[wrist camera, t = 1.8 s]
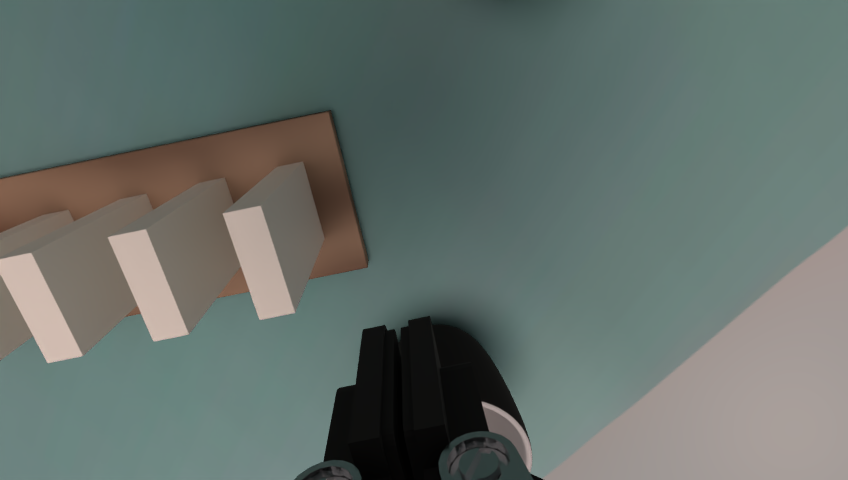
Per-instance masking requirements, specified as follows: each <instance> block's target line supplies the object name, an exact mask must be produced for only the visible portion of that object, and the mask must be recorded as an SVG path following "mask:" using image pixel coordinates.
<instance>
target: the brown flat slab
mask: <svg viewBox="0 0 848 480" xmlns="http://www.w3.org/2000/svg"><path fill="white" fill-rule="evenodd" d="M298 162H303V163H304V167H305V170H306V174H307V177H308V181H309V185H310V188H311V192H312V195H313V199H314V202H315V206H316V210H317V213H318V217H319V220H320V224H321V227H322V231H323V235H324V238H325V239H324V241H323V244H322V246H321V249H320V251H319V254H318V256H317V259H316V262H315V264H314V267H313V269H312V272H311V274H310V277H309V279H313V278H318V277H323V276H328V275H333V274H338V273H342V272H347V271H352V270H357V269H362V268H367V267H368V261H369V260H368V256H367V252H366V248H365V244H364V240H363V237H362V233H361V229H360V225H359V221H358V217H357V213H356V209H355V205H354V201H353V197H352V193H351V189H350V185H349V181H348V177H347V173H346V169H345V165H344V161H343V157H342V153H341V149H340V145H339V141H338V137H337V133H336V129H335V125H334V121H333V117H332V113H331V110H329V111H324V112H319V113H315V114H310V115H305V116H300V117H295V118H290V119H286V120H281V121H276V122H271V123H266V124H261V125H256V126H252V127H247V128H242V129H237V130H232V131H227V132H223V133H218V134H213V135H208V136H203V137H198V138H193V139H189V140H184V141H179V142H174V143H169V144H164V145H159V146H155V147H150V148H145V149H140V150H135V151H130V152H126V153H121V154H116V155H111V156H106V157H101V158H96V159H92V160H87V161H82V162H77V163H72V164H67V165H62V166H58V167H53V168H48V169H43V170H38V171H33V172H29V173H24V174H19V175H14V176H9V177H4V178H0V233H1V232H3V231H6V230H8V229H11V228H13V227H15V226H18V225H20V224H22V223H25V222H27V221H30V220H32V219H34V218H37V217H39V216H41V215H45V214H50V213H55V212H60V211H64V210H69V212H70V214H71V216H72V218H73V220H74V221H76V220H78V219H80V218H82V217H84V216H86V215H88V214H90V213H92V212H95V211H97V210H99V209H101V208H103V207H105V206H107V205H109V204H111V203H113V202H115V201H117V200H119V199H123V198H128V197H133V196H137V195H142V194H147V196H148V199H149V201H150V204H151V206H152V209H153V210H154V209H156V208H157V207H159V206H161V205H162V204H164V203H166V202H167V201H169V200H171V199H172V198H174V197H176V196H177V195H179V194H181V193H182V192H184V191H186V190H188V189H189V188H191V187H193V186H194V185H196V184H198V183H201V182H206V181H210V180H215V179H220V178H225V180H226V183H227V186H228V189H229V192H230V195H231V198H232V201H233V204H234V203H235V202H236V201H238V200H239V199H240V198H241V197H242V196H243V195H245V194H246V193H247V192H248V191H249V190H250V189H252V188H253V187H254V186H255V185H256V184H257V183H259V182H260V181H261V180H262V179H263V178H264V177H266V176H267V175H268V174H269V173H270V172H271V171H273V170H274V169H275V168H276V167H278V166H283V165H288V164H293V163H298ZM244 292H249V288H248V285H247V282H246V279H245V277H244V274H243V271H242V268H241V267H240V268H239V269H238V271H237V272H236V273H235V275H234V276H233V277H232V279H231V280H230V281H229V283H228V284H227V285H226V286H225V288H224V289H223V290H222V292H221V293H220V294H219V296H218V297H217V298H220V297H225V296H230V295H235V294H239V293H244ZM136 314H141V312H140V310H139V307H138V305H137V306H136V307H135V308H134V309H133V310H132V311H131V312H130V313H129V314H127V315H126V316H125V317H127V316H131V315H136Z"/></svg>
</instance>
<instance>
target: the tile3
mask: <svg viewBox="0 0 848 480" xmlns="http://www.w3.org/2000/svg"><path fill="white" fill-rule="evenodd" d="M152 210H153V209H152V206H151V204H150V201H149V199H148V196H147V194H142V195H137V196H133V197H128V198H123V199H119V200H117V201H115V202H113V203H111V204H109V205H107V206H105V207H103V208H101V209H99V210H97V211H95V212H92V213H90V214H88V215H86V216H84V217H82V218H80V219H78V220H76V221H74V222H72V223H70V224H68V225H66V226H63V227H61V228H59V229H57V230H55V231H53V232H51V233H49V234H47V235H45V236H43V237H41V238H39V239H37V240H34V241H32V242H30V243H28V244H26V245H24V246H22V247H20V248H18V249H16V250H14V251H12V252H10V253H8V254H5V255H3V256H1V257H0V275H1V276H2V278H3V280H4V282H5V284H6V286H7V288H8V290H9V291H10V293H11V295H12V297H13V299H14V301H15V303H16V305H17V306H18V308H19V310H20V312H21V314H22V316H23V318H24V320H25V321H26V323H27V325H28V327H29V329H30V331H31V333H32V335H33V336H34V338H35V340H36V342H37V344H38V346H39V348H40V350H41V351H42V353H43V355H44V357H45V359H46V361H47V363H51V362H56V361H61V360H66V359H71V358H75V357H80V356H83V355H85V354H86V353H87V352H88V351H89V350H90V349H91V348H92V347H93V346H94V345H95V344H96V343H97V342H99V341H100V340H101V339H102V338H103V337H104V336H105V335H106V334H107V333H108V332H109V331H110V330H111V329H112V328H114V327H115V326H116V325H117V324H118V323H119V322H120V321H121V320H122V319H123V318H124V317H125V316H126V315H127V314H129V313H130V312H131V311H132V310H133V309H134V308H135V307H136V306H137V303H136V301H135V298H134V296H133V294H132V292H131V289H130V287H129V285H128V282H127V280H126V278H125V276H124V273H123V271H122V269H121V267H120V264H119V262H118V260H117V257H116V255H115V253H114V251H113V248H112V246H111V244H110V242H109V239H108V236H110V235H112V234H114V233H115V232H117V231H119V230H120V229H122V228H124V227H125V226H127V225H129V224H130V223H132V222H134V221H135V220H137V219H139V218H140V217H142V216H144V215H145V214H147V213H149V212H151V211H152Z"/></svg>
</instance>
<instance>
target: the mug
mask: <svg viewBox="0 0 848 480" xmlns="http://www.w3.org/2000/svg"><path fill="white" fill-rule="evenodd" d="M432 328H433V332H434V337H435V342H436V346H437V351H438V356H439V360H440V365H441V367H446V366H451V365H456V364H461V363H466V362H471V364H472V368H473V372H474V375H475V379H476V383H477V387H478V391H479V394H480V398H481V402H482V406H483V410H484V414H485V417H486V421H487V425H488V429H489V432H493V433H497V434H500V435H502V436H504V437H505V438H507V439H509V440H510V441H511V442H512V444H513V445H514V446H515V447H516V449H517V451H518V452H519V454H520V456H521V458H522V460H523V461H524V463H525V465H526V467H527V469H528V471H529V472H530V471H531V466H532V449H531V444H530V440H529V437H528V434H527V431H526V428H525V425H524V423H523V420H522V418H521V415H520V413H519V411H518V408H517V406H516V404H515V402H514V400H513V398H512V396H511V394H510V391H509V389H508V387H507V386H506V384H505V382H504V380H503V378H502V376H501V374H500V373H499V371H498V369H497V368H496V366H495V364H494V363H493V361H492V360H491V358H490V357H489V355H488V354H487V352H486V351H485V350H484V349H483V347H482V346H481V345H480V344H479V343H478V342H477V341H476V340H475V339H474V338H473V337H472V336H471V335H469V334H468V333H466V332H464V331H462V330H460V329H458V328H456V327H452V326H448V325H440V324H436V325H432ZM398 344H399V348H400V352H401V340H400V341H399V343H398Z"/></svg>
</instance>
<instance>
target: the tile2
mask: <svg viewBox="0 0 848 480" xmlns="http://www.w3.org/2000/svg"><path fill="white" fill-rule="evenodd" d="M232 205H233V201H232V198H231V195H230V192H229V189H228V186H227V183H226V180H225V178H220V179H215V180H210V181H206V182H201V183H198V184H196V185H194V186H193V187H191V188H189V189H188V190H186V191H184V192H182V193H181V194H179V195H177V196H176V197H174V198H172V199H171V200H169V201H167V202H166V203H164V204H162V205H161V206H159V207H157V208H156V209H154V210H152V211H151V212H149V213H147V214H145V215H144V216H142V217H140V218H139V219H137V220H135V221H134V222H132V223H130V224H129V225H127V226H125V227H124V228H122V229H120V230H119V231H117V232H115V233H114V234H112V235H110V236H108V239H109V242H110V244H111V246H112V248H113V251H114V253H115V255H116V257H117V260H118V262H119V264H120V267H121V269H122V271H123V273H124V276H125V278H126V280H127V282H128V285H129V287H130V289H131V292H132V294H133V296H134V298H135V301H136V303H137V305H138V307H139V310H140V312H141V314H142V317H143V319H144V321H145V323H146V326H147V328H148V330H149V332H150V335H151V337H152V339H153V342H154V341H159V340H164V339H169V338H174V337H179V336H184V335H189V334H190V332H191V331H192V330H193V328H194V327H195V326H196V324H197V323H198V322H199V321H200V319H201V318H202V317H203V315H204V314H205V313H206V311H207V310H208V309H209V307H210V306H211V305H212V303H213V302H214V301H215V300H216V298H217V297H218V296H219V294H220V293H221V292H222V290H223V289H224V288H225V286H226V285H227V284H228V283H229V281H230V280H231V279H232V277H233V276H234V275H235V273H236V272H237V271H238V269H239V268H240V267H241V265H240V262H239V259H238V257H237V254H236V251H235V248H234V245H233V242H232V239H231V236H230V234H229V231H228V228H227V225H226V222H225V219H224V216H223V214H222V213H224V212H225V211H226V210H227V209H228V208H229V207H231V206H232Z"/></svg>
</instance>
